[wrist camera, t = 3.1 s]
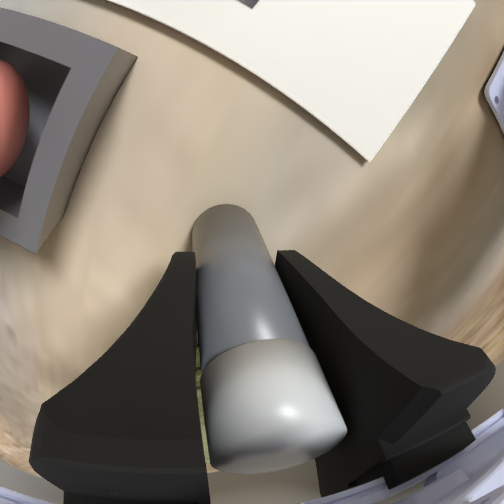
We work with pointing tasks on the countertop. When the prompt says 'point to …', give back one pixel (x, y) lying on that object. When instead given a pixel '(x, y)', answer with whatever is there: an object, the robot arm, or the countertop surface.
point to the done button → (12, 115)
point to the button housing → (53, 118)
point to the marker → (254, 355)
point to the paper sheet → (327, 52)
